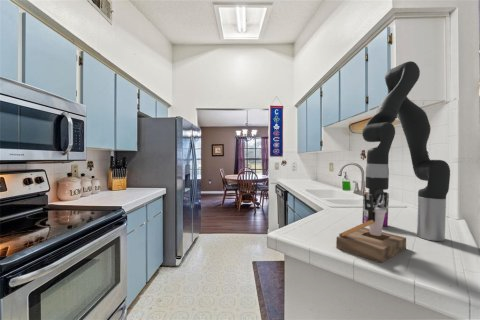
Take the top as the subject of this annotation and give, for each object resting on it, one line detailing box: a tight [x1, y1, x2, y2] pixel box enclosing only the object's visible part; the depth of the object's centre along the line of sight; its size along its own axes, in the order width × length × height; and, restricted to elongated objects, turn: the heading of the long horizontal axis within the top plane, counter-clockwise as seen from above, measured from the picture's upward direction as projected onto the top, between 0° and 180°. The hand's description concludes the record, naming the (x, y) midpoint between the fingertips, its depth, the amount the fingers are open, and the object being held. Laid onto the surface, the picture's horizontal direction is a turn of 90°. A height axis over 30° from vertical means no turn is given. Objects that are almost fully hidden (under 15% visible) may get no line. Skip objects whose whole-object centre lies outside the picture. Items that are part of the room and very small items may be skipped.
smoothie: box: [368, 207, 386, 236], centre depth 87 cm, size 6×6×14 cm
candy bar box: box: [361, 190, 390, 228], centre depth 118 cm, size 11×5×16 cm, turn 58°
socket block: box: [335, 227, 407, 264], centre depth 85 cm, size 22×15×4 cm
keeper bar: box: [338, 220, 374, 237], centre depth 82 cm, size 3×13×1 cm
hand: (375, 220), depth 87 cm, fingers closed on smoothie, 6 cm apart
